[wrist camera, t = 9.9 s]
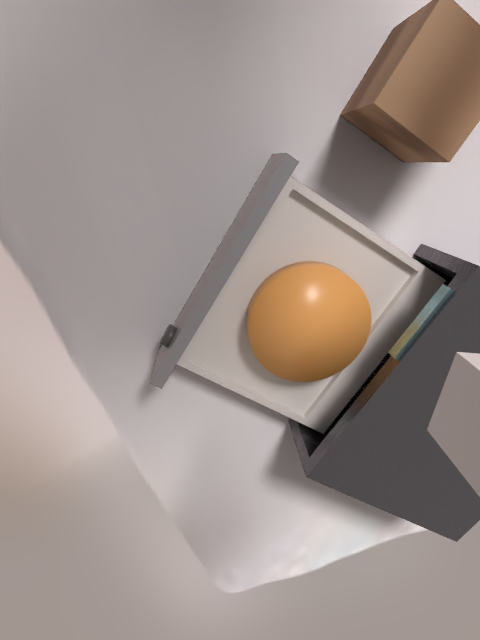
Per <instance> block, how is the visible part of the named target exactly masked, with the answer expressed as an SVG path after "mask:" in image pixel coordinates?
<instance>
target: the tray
mask: <svg viewBox="0 0 480 640" xmlns="http://www.w3.org/2000/svg"><path fill="white" fill-rule="evenodd" d="M298 163H299V161H297V160H296V159H294V158H293V157H292V156H290V155H289V154H287V153H279V154H272V156H271V158H270V159H269V161H268V163H267V164H266V166H265V168H264V170H263V171H262V173H261V175H260V177H259V178H258V180H257V182H256V183H255V185H254V187H253V189H252V190H251V192H250V194H249V196H248V197H247V199H246V201H245V202H244V204H243V206H242V208H241V209H240V211H239V213H238V214H237V216H236V218H235V220H234V221H233V223H232V225H231V227H230V228H229V230H228V232H227V233H226V235H225V237H224V239H223V240H222V242H221V244H220V246H219V247H218V249H217V251H216V252H215V254H214V256H213V258H212V259H211V261H210V263H209V264H208V266H207V268H206V270H205V271H204V273H203V275H202V277H201V278H200V280H199V282H198V283H197V285H196V287H195V289H194V290H193V292H192V294H191V296H190V297H189V299H188V301H187V302H186V304H185V306H184V308H183V309H182V311H181V313H180V314H179V316H178V318H177V320H176V321H175V323H174V325H171V324H170V325H169V326H168V327H167V329H166V331H165V332H164V334H163V336H162V339H161V341H160V344H161V345H162V346H161V347H160V349H159V351H158V354H157V358H156V362H155V366H154V370H153V373H152V377H151V381H150V384H152V385H154V386H157V387H159V388H161V389H162V388H163V386H164V384H165V383H166V381H167V379H168V378H169V376H170V374H171V373H172V371H173V369H174V368H175V366H176V364H177V365H179V366H181V367H183V368H185V369H187V370H189V371H192V372H194V373H196V374H198V375H200V376H202V377H204V378H206V379H209V380H211V381H213V382H215V383H217V384H219V385H221V386H223V387H225V388H228V389H230V390H232V391H234V392H236V393H238V394H240V395H242V396H244V397H247V398H249V399H251V400H253V401H255V402H257V403H259V404H261V405H264V406H266V407H268V408H270V409H272V410H274V411H276V412H278V413H280V414H283V415H285V416H287V417H289V418H291V419H293V420H295V421H297V422H299V423H302V424H304V425H306V426H308V427H310V428H312V429H314V430H316V431H318V432H321V433H324V432H325V431H326V430H327V428H328V427H329V426H330V425H331V423H332V422H333V421H334V420H335V418H336V417H337V416H338V415H339V413H340V412H341V411H342V410H343V408H344V407H345V406H346V405H347V403H348V402H349V401H350V400H351V398H352V397H353V396H354V395H355V393H356V392H357V391H358V390H359V388H360V387H361V386H362V385H363V383H364V382H365V381H366V380H367V378H368V377H369V376H370V375H371V373H372V372H373V371H374V370H375V368H376V367H377V366H378V365H379V363H380V362H381V361H382V360H383V358H384V357H385V356H386V355H387V353H388V352H389V351H390V349H391V348H392V347H393V346H394V344H395V343H396V342H397V341H398V339H399V338H400V337H401V336H402V334H403V333H404V332H405V331H406V329H407V328H408V327H409V326H410V324H411V323H412V322H413V321H414V319H415V318H416V317H417V316H418V314H419V313H420V312H421V311H422V309H423V308H424V307H425V306H426V304H427V303H428V302H429V301H430V299H431V298H432V297H433V296H434V294H435V293H436V292H437V291H438V289H439V288H440V287H441V286H442V284H443V283H444V282H445V281H446V280H445V279H443V278H442V277H440V276H439V275H437V274H436V273H434V272H433V271H431V270H430V269H428V268H427V267H425V266H424V265H422V264H421V263H419V262H418V261H416V260H415V259H413V258H412V257H410V256H409V255H407V254H406V253H404V252H403V251H402V250H400V249H399V248H397V247H396V246H394V245H393V244H391V243H390V242H388V241H387V240H385V239H384V238H382V237H381V236H379V235H378V234H376V233H375V232H373V231H372V230H370V229H369V228H367V227H366V226H364V225H363V224H361V223H360V222H358V221H357V220H355V219H354V218H352V217H351V216H349V215H348V214H346V213H345V212H343V211H342V210H340V209H339V208H337V207H336V206H334V205H333V204H331V203H330V202H328V201H327V200H325V199H324V198H322V197H321V196H319V195H318V194H316V193H315V192H313V191H312V190H310V189H309V188H307V187H306V186H304V185H303V184H301V183H300V182H298V181H297V180H296V179H294V178H293V177H291V174H292V173H293V171H294V169H295V168H296V166H297V164H298ZM304 261H316V262H322V263H326V264H329V265H332V266H334V267H336V268H338V269H340V270H341V271H343V272H344V273H345V274H347V275H348V276H349V277H350V278H351V279H353V280H354V281H355V282H356V283H357V284H358V285H359V286H360V287H361V289H362V290H363V291H364V293H365V295H366V297H367V299H368V302H369V305H370V309H371V329H370V333H369V337H368V339H367V342H366V344H365V346H364V348H363V349H362V351H361V352H360V354H359V355H358V356H357V357H356V359H355V360H354V361H353V362H352V363H351V364H350V365H348V366H347V367H346V368H345V369H343V370H342V371H340V372H338V373H337V374H335V375H333V376H330V377H328V378H325V379H322V380H318V381H313V382H295V381H290V380H286V379H283V378H280V377H278V376H276V375H274V374H273V373H271V372H269V371H268V370H267V369H266V368H264V366H263V365H262V364H261V363H260V362H259V361H258V359H257V358H256V356H255V354H254V352H253V351H252V348H251V345H250V341H249V337H248V332H247V327H246V316H247V310H248V306H249V303H250V300H251V298H252V296H253V294H254V292H255V291H256V289H257V288H258V287H259V285H260V284H261V283H262V282H263V281H264V280H265V279H266V278H267V277H268V276H269V275H271V274H272V273H273V272H275V271H277V270H278V269H280V268H282V267H284V266H287V265H290V264H293V263H297V262H304Z"/></svg>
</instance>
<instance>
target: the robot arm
mask: <svg viewBox="0 0 480 640" xmlns="http://www.w3.org/2000/svg"><path fill="white" fill-rule="evenodd" d="M427 431H428V432H429V433H430V434H431V436H432V437H433V438H434V440H435V441H436V442H437V443H438V445H439V446H440V447H441V448H442V450H443V451H444V452H445V454H446V455H447V456H448V457H449V459H450V460H451V461H452V462H453V464H454V465H455V466H456V467H457V469H458V470H459V471H460V473H461V474H462V475H463V476H464V478H465V479H466V480H467V481H468V483H469V484H470V485H471V487H472V488H473V489H474V490H475V492H476V493H477V494H478V495H479V497H480V354H478V353H465V352H456V354H455V357H454V360H453V362H452V365H451V368H450V370H449V373H448V376H447V378H446V381H445V383H444V386H443V389H442V391H441V394H440V397H439V399H438V402H437V404H436V407H435V410H434V412H433V415H432V418H431V420H430V423H429V426H428V428H427Z"/></svg>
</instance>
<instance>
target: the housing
mask: <svg viewBox="0 0 480 640" xmlns="http://www.w3.org/2000/svg"><path fill="white" fill-rule="evenodd" d="M414 254H415V255H416V256H418V257H419V258H421V259H422V260H424V261H425V262H427V263H428V264H430V265H431V266H433V267H434V268H436V269H437V270H439V271H440V272H442V273H443V274H445V275H446V276H447V277H449V278H450V279H452V281H451V282H450V283H449V285H448V286H445V285H444V284H442V286H441V287H440V288H439V289H438V291H437V292H436V293H435V294H434V296H433V297H432V298H431V299H430V301H429V302H428V303H427V304H426V306H425V307H424V308H423V309H422V311H421V312H420V313H419V314H418V316H417V317H416V318H415V319H414V321H413V322H412V323H411V324H410V326H409V327H408V328H407V329H406V331H405V332H404V333H403V334H402V336H401V337H400V338H399V339H398V341H397V342H396V343H395V344H394V346H393V347H392V348H391V349H390V351H389V352H388V353H389V354H390V355H391V357H390V358H389V359H388V360H387V362H386V363H385V364H384V365H383V367H382V368H381V369H380V370H379V372H378V373H377V374H376V375H375V377H374V378H373V379H372V380H371V382H370V383H369V384H368V385H367V387H366V388H365V389H364V390H363V392H362V393H361V394H360V395H359V396H358V398H357V399H356V400H355V401H354V403H353V404H352V405H351V406H350V408H349V409H348V410H347V411H346V413H345V414H344V415H343V416H342V418H341V419H340V420H339V421H338V423H337V424H336V425H335V426H334V428H333V429H332V430H331V431H330V430H328V429H327V430H326V431H325V432H324V433H321V432H318V431H316V430H314V429H312V428H310V427H308V426H306V425H304V424H302V423H299V422H297V421H295V420H293V419H291V418H290V419H289V424H290V427H291V430H292V433H293V437H294V440H295V443H296V446H297V449H298V453H299V456H300V459H301V462H302V465H303V469H304V472H305V475H306V477H308V478H310V479H312V480H314V481H317V482H319V483H321V484H324V485H326V486H328V487H331V488H333V489H335V490H338V491H340V492H342V493H345V494H347V495H349V496H352V497H354V498H356V499H359V500H361V501H363V502H366V503H368V504H370V505H373V506H375V507H377V508H380V509H382V510H384V511H387V512H389V513H391V514H393V515H396V516H398V517H400V518H403V519H405V520H407V521H410V522H412V523H414V524H417V525H419V526H421V527H424V528H426V529H428V530H431V531H433V532H435V533H438V534H440V535H442V536H445V537H447V538H449V539H452V540H454V541H456V542H457V541H458V540H459V539H460V538H461V537H462V536H463V535H464V534H465V533H467V531H469V530H470V529H471V528H472V527H473V526H474V525H475V524H476V523H477V522H478V521H479V520H480V497H479V495H478V494H477V493H476V492H475V490H474V489H473V488H472V487H471V485H470V484H469V483H468V481H467V480H466V479H465V478H464V476H463V475H462V474H461V473H460V471H459V470H458V469H457V467H456V466H455V465H454V464H453V462H452V461H451V460H450V459H449V457H448V456H447V455H446V454H445V452H444V451H443V450H442V448H441V447H440V446H439V445H438V443H437V442H436V441H435V440H434V438H433V437H432V436H431V434H430V433H429V432H428V431H427V428H428V426H429V423H430V420H431V418H432V415H433V412H434V410H435V407H436V404H437V402H438V399H439V397H440V394H441V391H442V389H443V386H444V383H445V381H446V378H447V376H448V373H449V370H450V368H451V365H452V362H453V360H454V357H455V354H456V352H465V353H478V354H480V266H478V265H475V264H473V263H470V262H467V261H465V260H462V259H460V258H457V257H454V256H452V255H449V254H447V253H444V252H441V251H439V250H436V249H434V248H431V247H428V246H426V245H423V244H421V245H420V247H419V248H418V249H417V251H416V252H415V253H414Z"/></svg>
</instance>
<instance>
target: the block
mask: <svg viewBox="0 0 480 640" xmlns="http://www.w3.org/2000/svg"><path fill="white" fill-rule="evenodd" d="M341 116H343V117H344V118H345V119H347V120H348V121H349V122H351V123H352V124H353V125H355V126H356V127H357V128H359V129H360V130H361V131H363V132H364V133H365V134H367V135H368V136H369V137H371V138H372V139H373V140H375V141H376V142H377V143H379V144H380V145H381V146H383V147H384V148H385V149H387V150H388V151H389V152H391V153H392V154H393V155H395V156H396V157H397V158H399V159H400V160H401V161H403V162H450V161H451V159H452V158H453V157H454V155H455V154H456V152H457V151H458V150H459V148H460V147H461V145H462V144H463V143H464V141H465V140H466V139H467V137H468V136H469V134H470V133H471V132H472V130H473V129H474V128H475V126H476V125H477V123H478V122H479V121H480V25H479V24H478V23H477V22H476V21H475V20H474V19H473V18H472V17H471V16H470V15H469V14H468V13H467V12H466V11H464V10H463V9H462V8H461V7H460V6H459V5H458V4H457V3H456V2H455V1H454V0H432V1H431V2H430V3H428V4H427V5H425V6H424V7H423V8H421V9H420V10H418V11H417V12H416V13H414V14H413V15H411V16H410V17H409V18H407V19H406V20H404V21H403V22H402V23H400V24H399V25H397V26H396V27H395V28H393V30H392V32H391V33H390V35H389V36H388V38H387V40H386V41H385V43H384V45H383V46H382V48H381V49H380V51H379V53H378V54H377V56H376V58H375V59H374V61H373V62H372V64H371V66H370V67H369V69H368V71H367V72H366V74H365V75H364V77H363V79H362V80H361V82H360V84H359V85H358V87H357V88H356V90H355V92H354V93H353V95H352V97H351V98H350V100H349V101H348V103H347V105H346V106H345V108H344V110H343V111H342V113H341Z"/></svg>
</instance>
